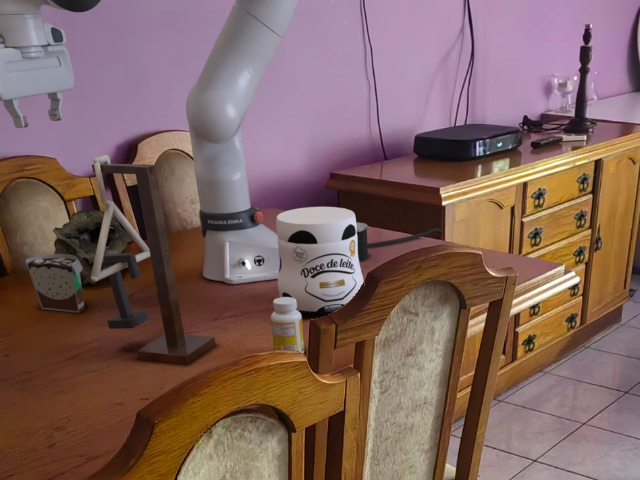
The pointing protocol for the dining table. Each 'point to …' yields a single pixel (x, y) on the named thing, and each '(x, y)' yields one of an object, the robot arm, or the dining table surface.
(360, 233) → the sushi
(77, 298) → the food container
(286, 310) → the supplement bottle
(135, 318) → the black hanger
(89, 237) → the hollow geode rock
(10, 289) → the dining table surface
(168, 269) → the hanger stand
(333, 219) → the milk container
